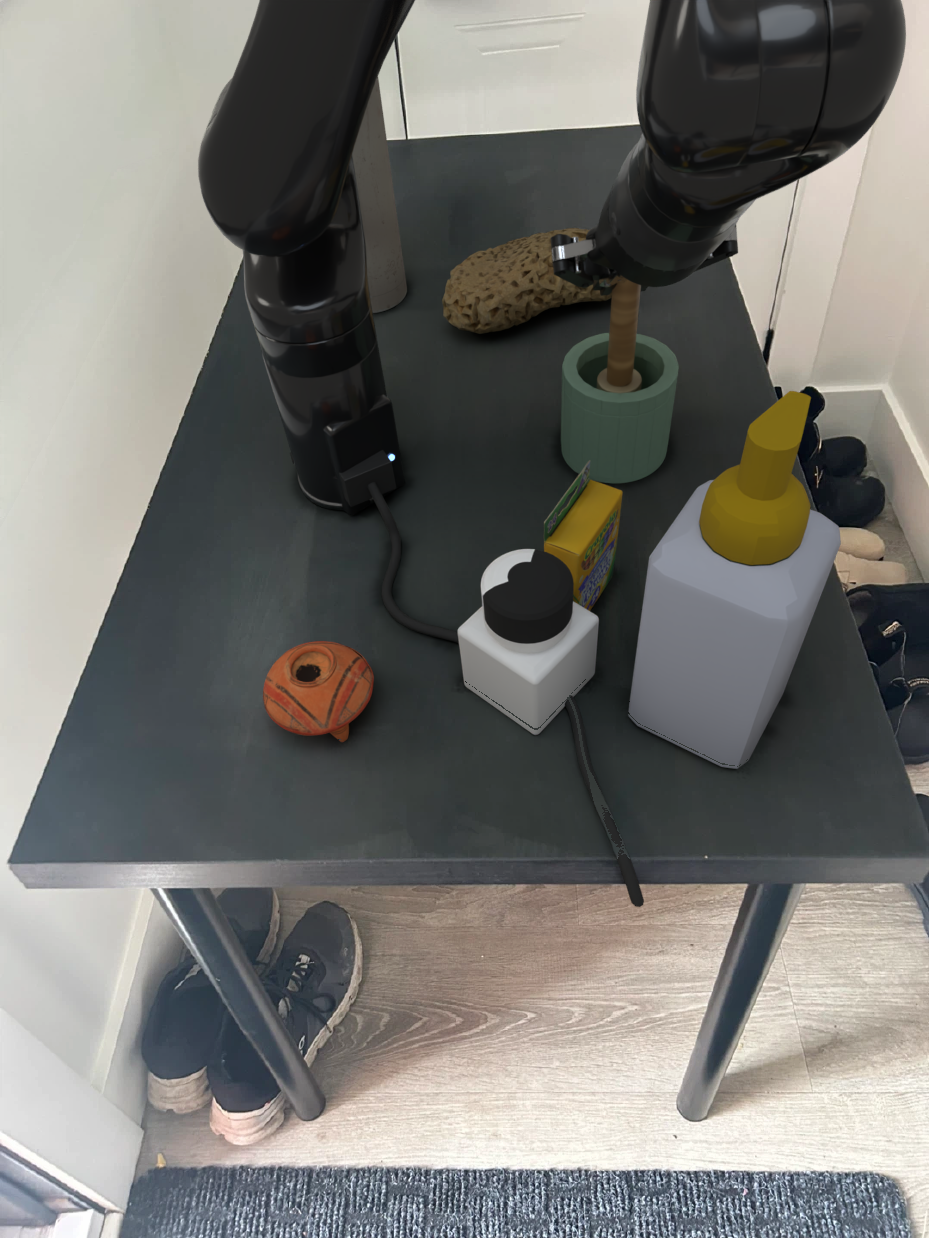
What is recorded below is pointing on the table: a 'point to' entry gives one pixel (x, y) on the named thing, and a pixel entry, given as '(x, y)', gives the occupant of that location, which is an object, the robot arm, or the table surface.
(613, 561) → the crayon box
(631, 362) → the wooden peg on base
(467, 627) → the medicine bottle
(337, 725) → the pot
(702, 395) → the table surface
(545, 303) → the sponge
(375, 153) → the thermos bottle
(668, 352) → the jar
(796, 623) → the soap bottle
